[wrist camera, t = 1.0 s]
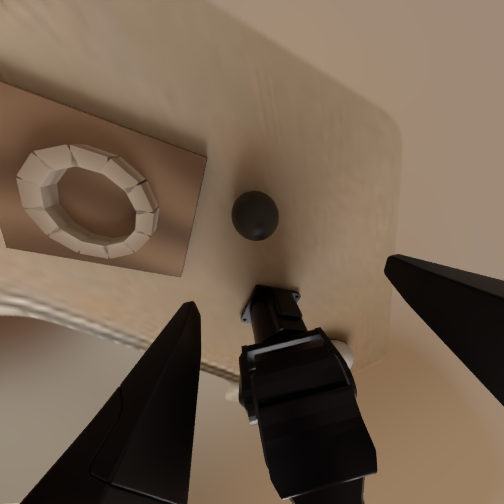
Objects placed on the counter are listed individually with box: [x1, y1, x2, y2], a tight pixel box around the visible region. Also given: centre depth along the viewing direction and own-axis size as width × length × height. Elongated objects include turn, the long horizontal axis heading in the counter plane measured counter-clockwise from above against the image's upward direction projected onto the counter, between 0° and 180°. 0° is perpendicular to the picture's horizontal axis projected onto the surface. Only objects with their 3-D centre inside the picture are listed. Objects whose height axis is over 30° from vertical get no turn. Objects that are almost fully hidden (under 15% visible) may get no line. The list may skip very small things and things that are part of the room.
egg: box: [232, 191, 279, 241], centre depth 16 cm, size 4×4×5 cm
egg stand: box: [0, 80, 207, 277], centre depth 15 cm, size 12×14×2 cm
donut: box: [330, 340, 354, 369], centre depth 33 cm, size 10×4×10 cm
